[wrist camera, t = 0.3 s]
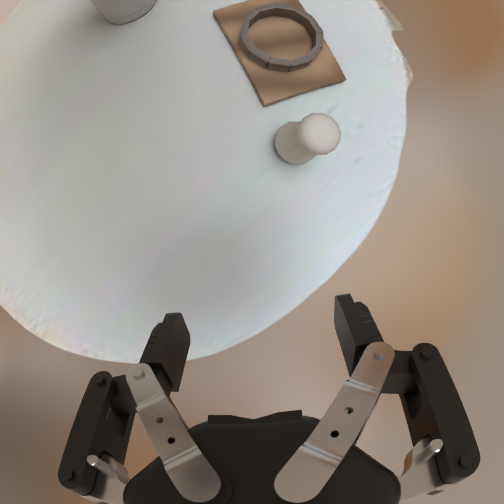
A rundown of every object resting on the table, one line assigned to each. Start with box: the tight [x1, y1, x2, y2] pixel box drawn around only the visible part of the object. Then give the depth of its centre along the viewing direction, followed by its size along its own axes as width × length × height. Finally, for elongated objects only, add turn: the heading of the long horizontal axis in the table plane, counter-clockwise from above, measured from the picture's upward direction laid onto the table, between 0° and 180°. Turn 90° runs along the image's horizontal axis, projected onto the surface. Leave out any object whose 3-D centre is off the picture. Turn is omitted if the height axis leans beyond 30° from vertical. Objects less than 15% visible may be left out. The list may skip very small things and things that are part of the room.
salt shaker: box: [275, 113, 341, 164], centre depth 29 cm, size 6×6×13 cm
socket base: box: [213, 0, 346, 107], centre depth 28 cm, size 18×13×4 cm
